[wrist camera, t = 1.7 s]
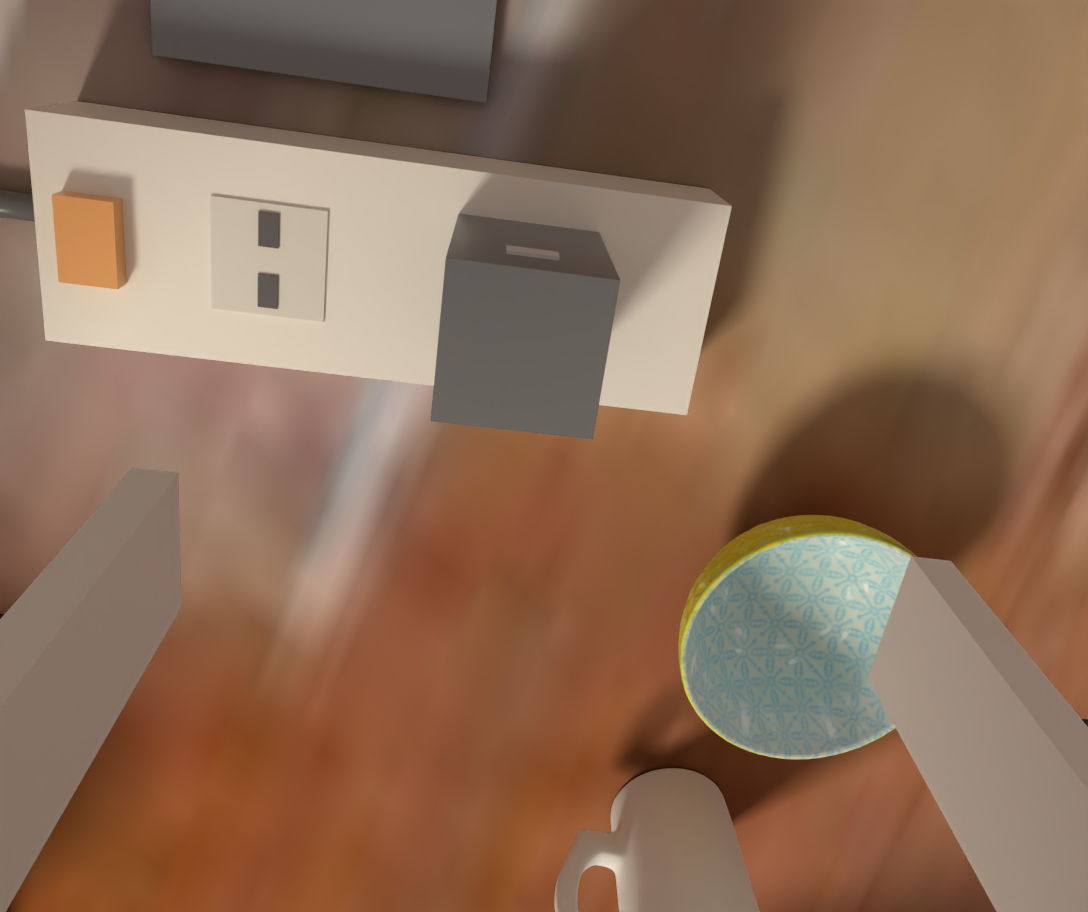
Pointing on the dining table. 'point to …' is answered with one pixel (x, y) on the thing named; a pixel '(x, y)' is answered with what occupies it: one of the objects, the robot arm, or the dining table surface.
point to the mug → (664, 849)
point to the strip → (332, 246)
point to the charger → (524, 327)
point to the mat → (339, 40)
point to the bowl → (792, 636)
